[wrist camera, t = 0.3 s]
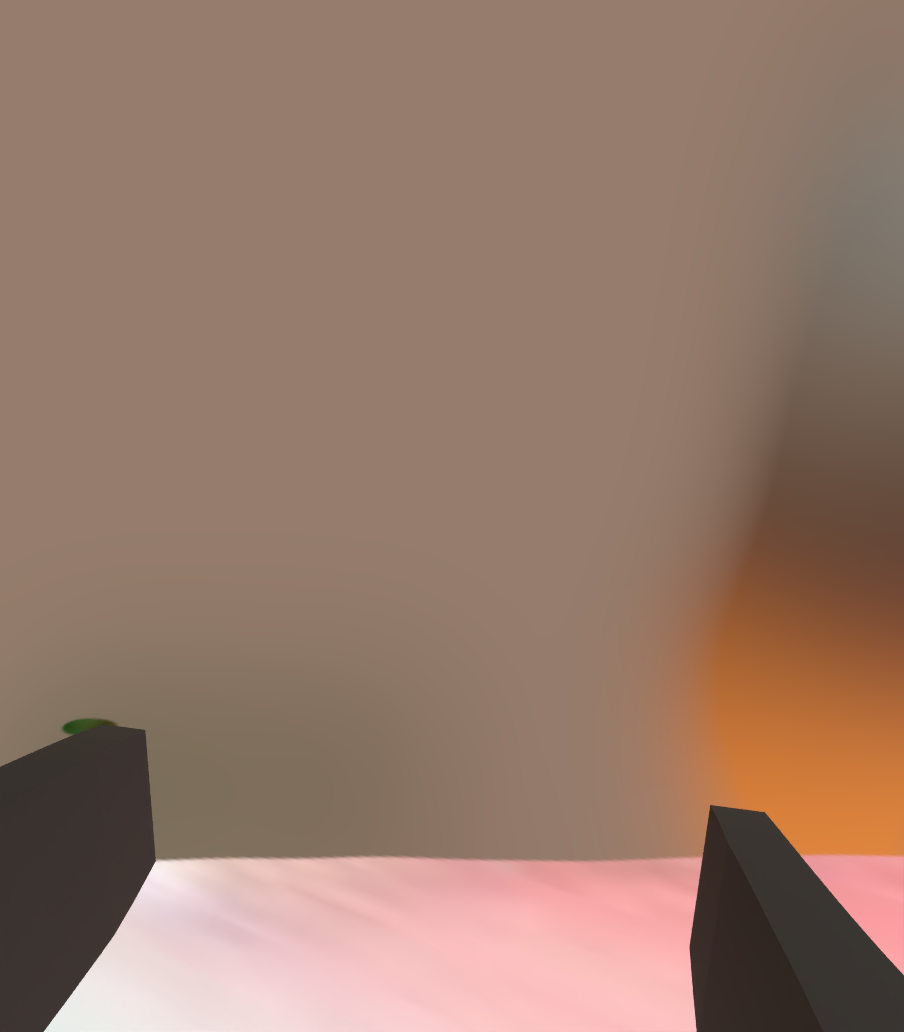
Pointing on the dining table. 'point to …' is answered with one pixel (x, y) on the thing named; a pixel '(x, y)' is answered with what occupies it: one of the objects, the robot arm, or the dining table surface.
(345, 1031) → the dining table surface
